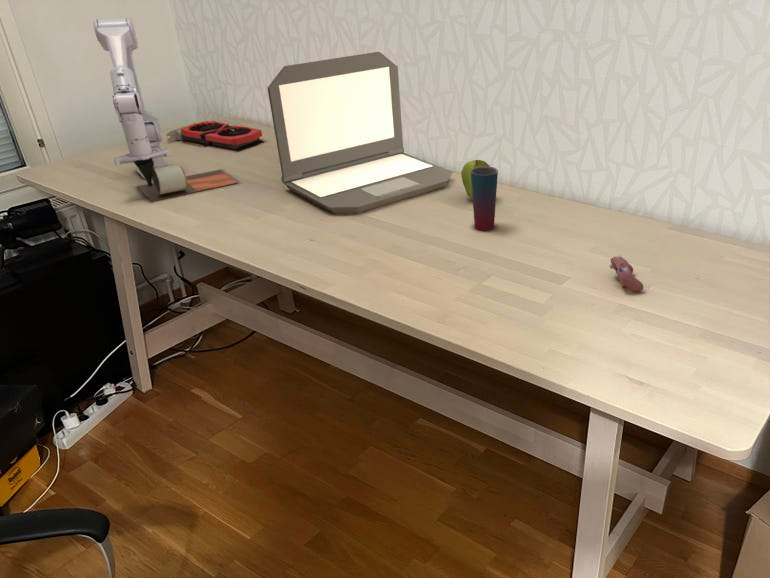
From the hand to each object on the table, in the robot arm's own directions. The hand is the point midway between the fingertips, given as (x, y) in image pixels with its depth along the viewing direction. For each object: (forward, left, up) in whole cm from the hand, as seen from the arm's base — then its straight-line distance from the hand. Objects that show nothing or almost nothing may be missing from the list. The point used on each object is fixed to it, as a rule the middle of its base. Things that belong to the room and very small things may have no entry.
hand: (150, 185), depth 199 cm
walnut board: (-3, +11, -3) cm, 12 cm away
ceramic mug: (0, +5, -3) cm, 6 cm away
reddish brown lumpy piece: (+121, +69, -3) cm, 139 cm away
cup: (+77, +63, -3) cm, 99 cm away
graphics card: (-42, +33, -3) cm, 53 cm away
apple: (+60, +73, -3) cm, 94 cm away
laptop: (+33, +55, -3) cm, 64 cm away
